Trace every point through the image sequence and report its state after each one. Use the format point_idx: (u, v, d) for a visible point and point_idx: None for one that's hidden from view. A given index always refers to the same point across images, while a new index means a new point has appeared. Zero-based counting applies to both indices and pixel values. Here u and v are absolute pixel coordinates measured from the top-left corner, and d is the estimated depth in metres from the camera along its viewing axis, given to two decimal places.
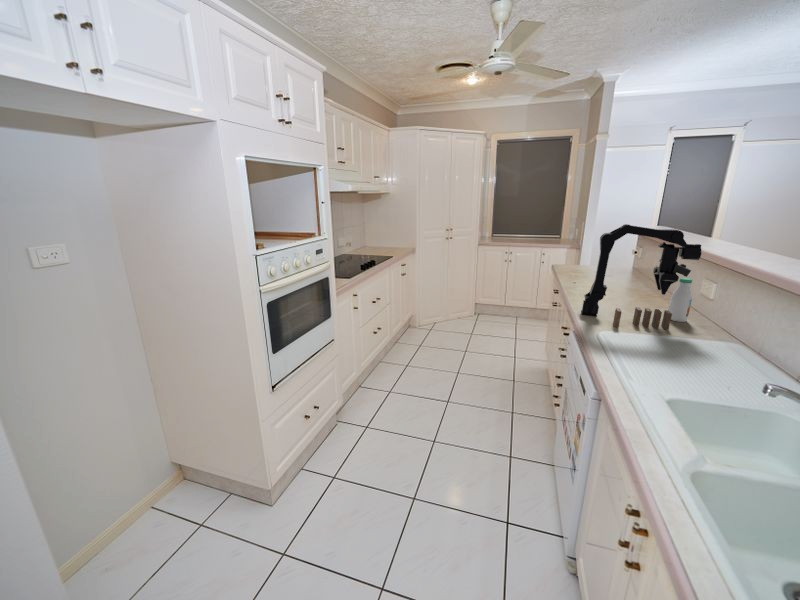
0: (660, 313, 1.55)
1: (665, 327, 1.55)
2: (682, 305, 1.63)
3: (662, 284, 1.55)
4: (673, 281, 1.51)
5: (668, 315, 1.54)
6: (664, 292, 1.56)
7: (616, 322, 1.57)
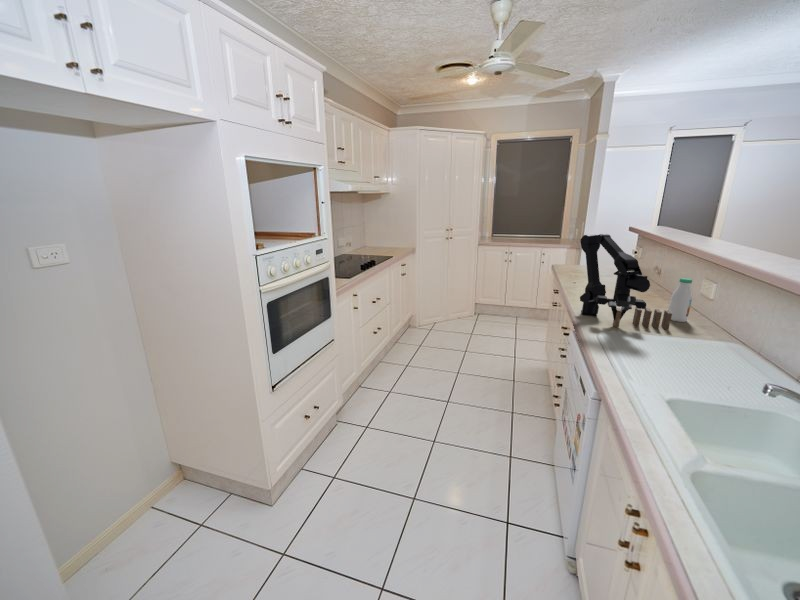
0: (660, 313, 1.55)
1: (665, 327, 1.55)
2: (682, 305, 1.63)
3: (611, 308, 1.60)
4: (608, 305, 1.57)
5: (668, 315, 1.54)
6: (613, 317, 1.59)
7: (616, 322, 1.57)
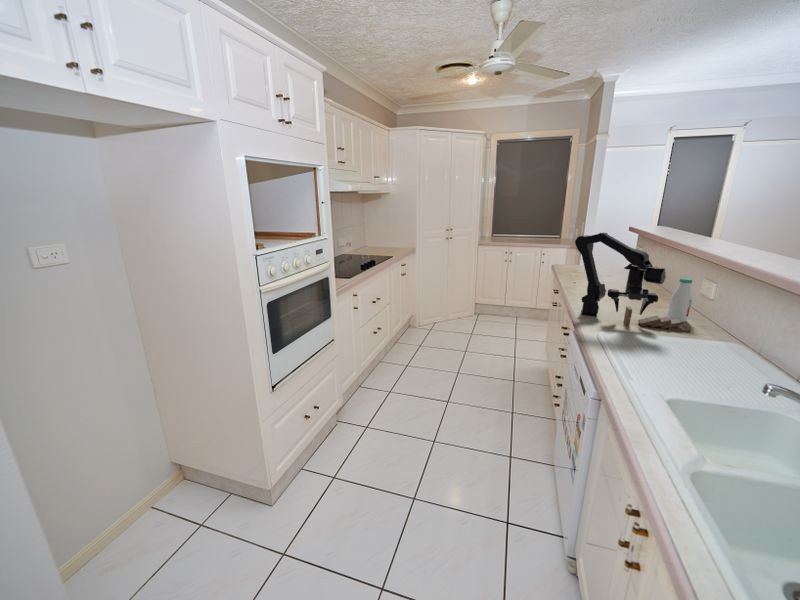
0: (680, 324, 1.53)
1: (671, 328, 1.54)
2: (682, 305, 1.63)
3: (614, 301, 1.64)
4: (611, 297, 1.61)
5: (687, 331, 1.52)
6: (616, 309, 1.63)
7: (627, 320, 1.60)
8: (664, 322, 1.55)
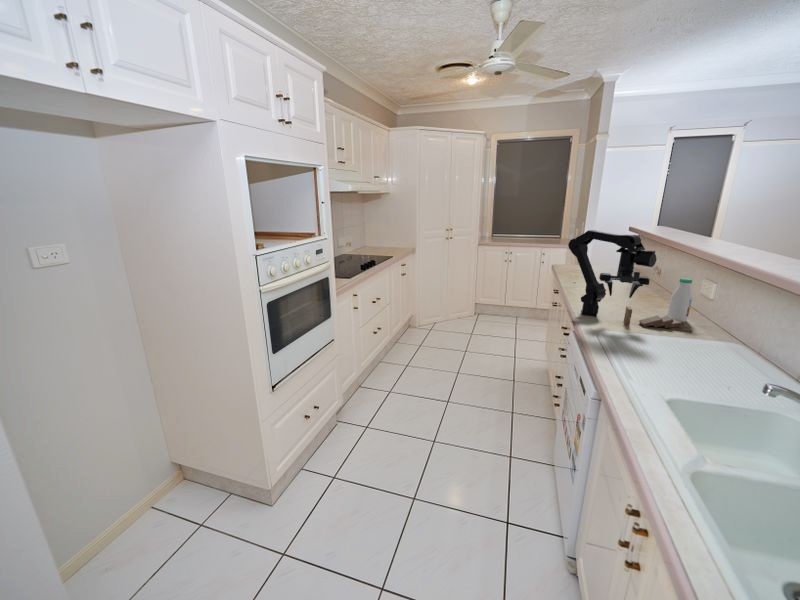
0: (682, 324, 1.55)
1: (673, 329, 1.54)
2: (682, 305, 1.63)
3: (608, 285, 1.63)
4: (605, 281, 1.61)
5: (689, 331, 1.53)
6: None
7: (627, 320, 1.60)
8: (666, 322, 1.55)
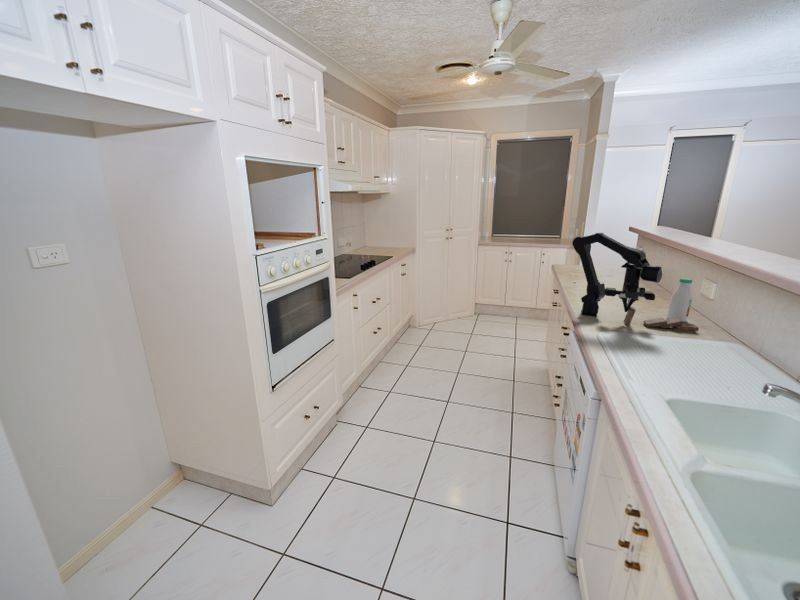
0: (696, 330, 1.51)
1: (676, 330, 1.54)
2: (682, 305, 1.63)
3: (622, 300, 1.63)
4: (619, 297, 1.60)
5: (692, 332, 1.51)
6: (624, 309, 1.62)
7: (628, 320, 1.60)
8: (675, 323, 1.54)
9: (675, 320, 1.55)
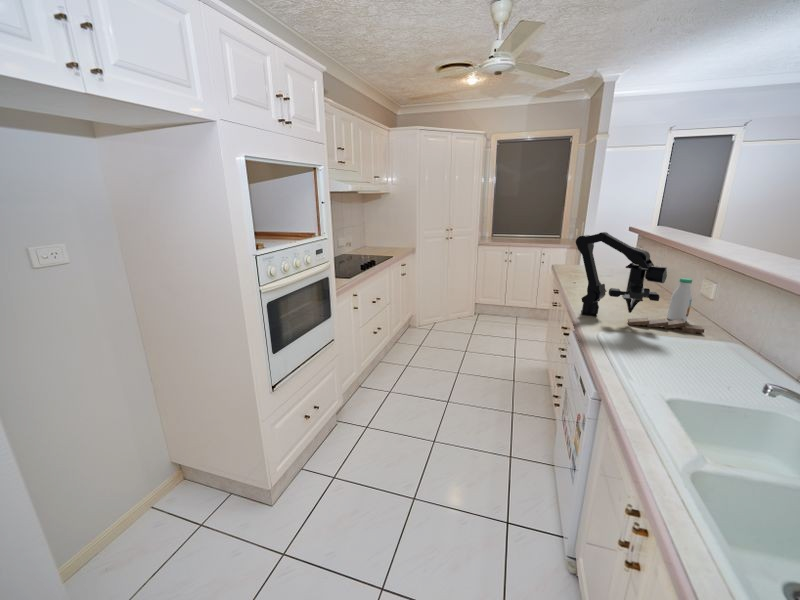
0: (702, 331, 1.49)
1: (676, 330, 1.53)
2: (682, 305, 1.63)
3: (626, 301, 1.62)
4: (623, 298, 1.59)
5: (692, 332, 1.51)
6: (628, 310, 1.61)
7: (635, 322, 1.59)
8: (678, 324, 1.53)
9: (679, 321, 1.54)
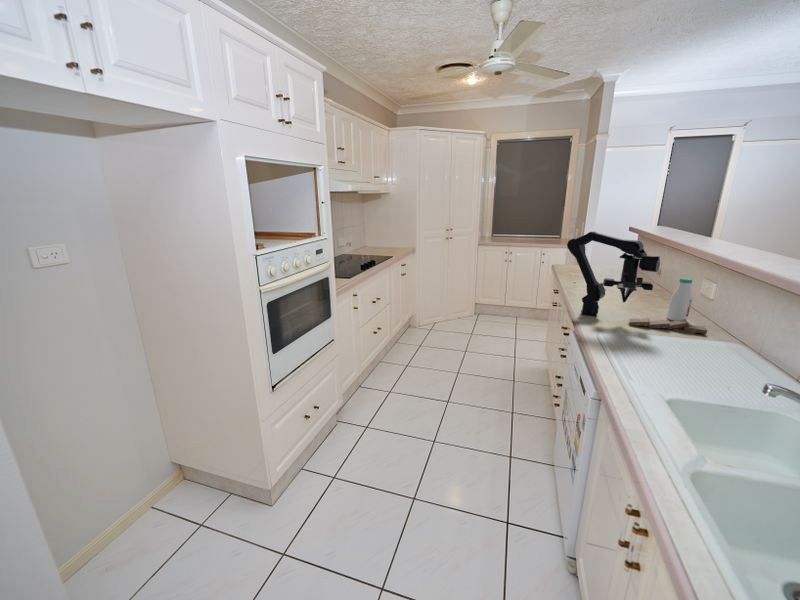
0: (705, 332, 1.49)
1: (676, 330, 1.53)
2: (682, 305, 1.63)
3: (621, 291, 1.64)
4: (617, 287, 1.61)
5: (692, 332, 1.51)
6: (622, 299, 1.63)
7: (635, 322, 1.58)
8: (681, 324, 1.52)
9: (681, 322, 1.54)
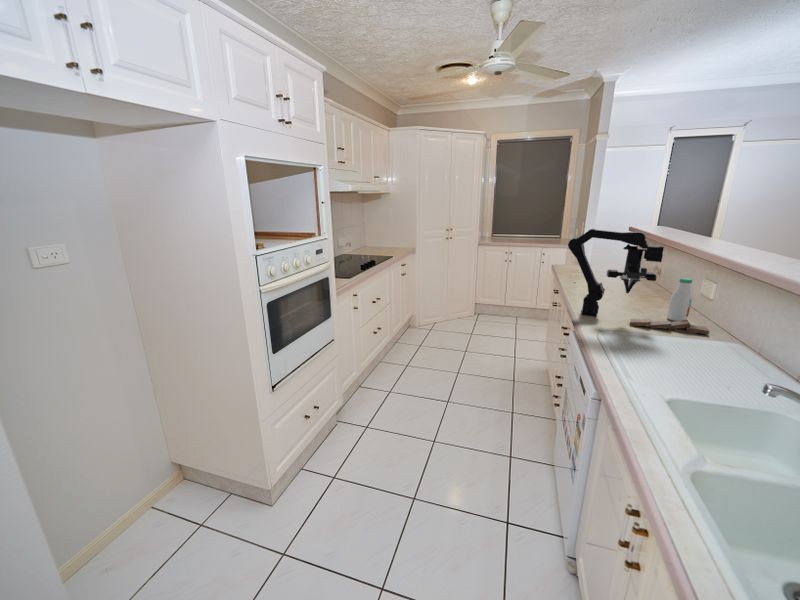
0: (707, 333, 1.48)
1: (677, 330, 1.53)
2: (682, 305, 1.63)
3: (624, 282, 1.65)
4: (621, 278, 1.62)
5: (693, 332, 1.51)
6: (626, 290, 1.64)
7: (635, 323, 1.58)
8: (682, 325, 1.52)
9: (683, 322, 1.53)
